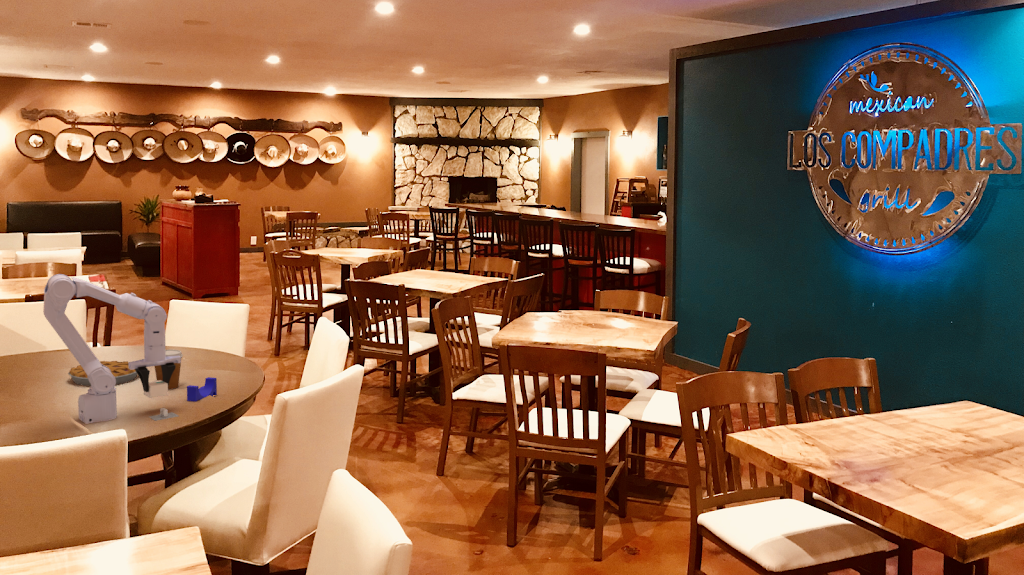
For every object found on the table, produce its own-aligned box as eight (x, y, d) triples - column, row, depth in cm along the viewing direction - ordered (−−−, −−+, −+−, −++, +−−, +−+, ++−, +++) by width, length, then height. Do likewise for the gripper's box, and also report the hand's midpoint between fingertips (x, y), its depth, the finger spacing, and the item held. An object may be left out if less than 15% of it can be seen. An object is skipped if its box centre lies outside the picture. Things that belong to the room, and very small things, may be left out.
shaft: (163, 417, 232) (163, 410, 232) (160, 415, 234) (159, 408, 234) (167, 417, 233) (167, 409, 233) (163, 414, 235) (163, 407, 235)
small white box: (150, 398, 234) (150, 385, 234) (144, 394, 238) (143, 382, 237) (168, 395, 238) (167, 382, 237) (161, 391, 241) (160, 379, 241)
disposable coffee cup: (164, 382, 274) (163, 348, 273) (189, 384, 272) (188, 350, 271) (146, 389, 265) (145, 354, 263) (172, 392, 263) (171, 356, 262)
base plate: (155, 424, 230) (155, 420, 230) (148, 420, 233) (148, 416, 233) (179, 420, 235) (179, 416, 235) (172, 416, 238) (172, 412, 238)
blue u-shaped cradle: (204, 394, 262) (203, 376, 261) (216, 395, 261) (216, 378, 261) (182, 404, 250) (182, 386, 250) (196, 406, 250) (195, 387, 249)
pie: (105, 391, 262) (104, 376, 262) (53, 383, 269) (53, 368, 269) (154, 376, 283) (154, 362, 282) (105, 369, 290) (105, 355, 289)
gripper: (134, 350, 228) (135, 396, 230) (185, 344, 238) (185, 388, 240) (125, 345, 233) (126, 391, 235) (175, 340, 243) (175, 383, 245)
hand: (155, 389), depth 238 cm, fingers closed on small white box, 5 cm apart
